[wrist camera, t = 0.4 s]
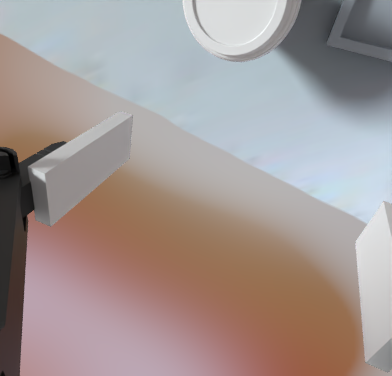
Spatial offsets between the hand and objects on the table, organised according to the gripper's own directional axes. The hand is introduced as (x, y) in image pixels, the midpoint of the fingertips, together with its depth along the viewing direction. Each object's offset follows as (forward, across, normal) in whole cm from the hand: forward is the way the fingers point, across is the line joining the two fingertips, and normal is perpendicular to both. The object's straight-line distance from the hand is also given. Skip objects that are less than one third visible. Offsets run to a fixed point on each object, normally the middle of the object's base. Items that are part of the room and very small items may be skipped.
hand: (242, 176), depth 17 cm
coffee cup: (+28, -6, +6) cm, 29 cm away
